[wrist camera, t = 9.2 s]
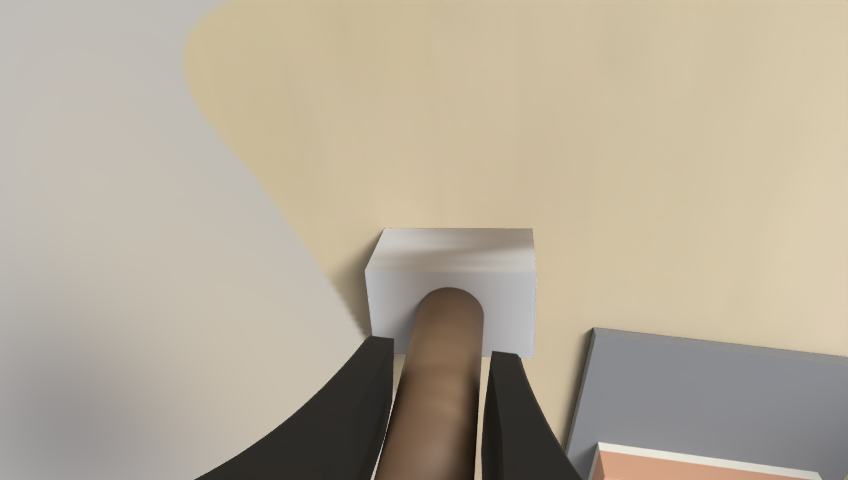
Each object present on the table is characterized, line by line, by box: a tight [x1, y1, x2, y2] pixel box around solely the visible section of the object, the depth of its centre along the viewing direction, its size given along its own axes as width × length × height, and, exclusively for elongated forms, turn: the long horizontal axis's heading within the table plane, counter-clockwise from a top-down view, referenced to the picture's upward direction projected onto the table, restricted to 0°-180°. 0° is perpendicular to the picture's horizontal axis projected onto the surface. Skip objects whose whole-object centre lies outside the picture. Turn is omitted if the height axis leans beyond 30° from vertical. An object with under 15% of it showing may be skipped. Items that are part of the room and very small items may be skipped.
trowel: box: [365, 228, 537, 480], centre depth 14 cm, size 5×3×10 cm, turn 93°
